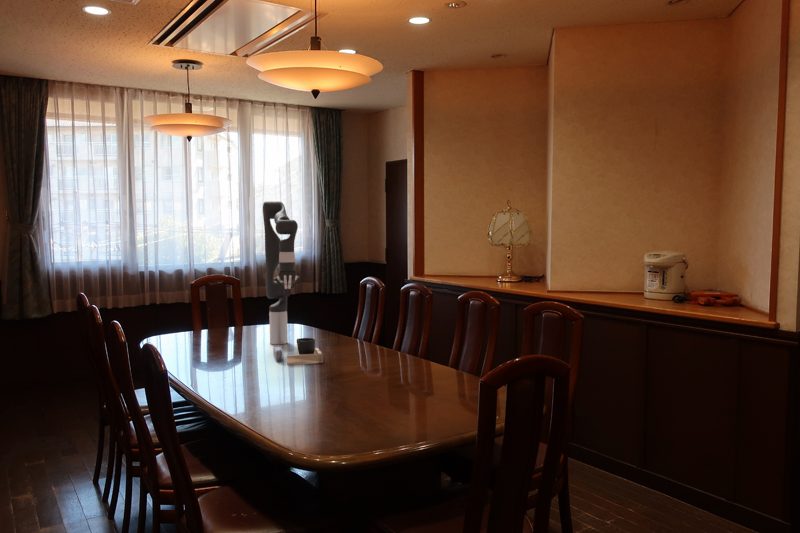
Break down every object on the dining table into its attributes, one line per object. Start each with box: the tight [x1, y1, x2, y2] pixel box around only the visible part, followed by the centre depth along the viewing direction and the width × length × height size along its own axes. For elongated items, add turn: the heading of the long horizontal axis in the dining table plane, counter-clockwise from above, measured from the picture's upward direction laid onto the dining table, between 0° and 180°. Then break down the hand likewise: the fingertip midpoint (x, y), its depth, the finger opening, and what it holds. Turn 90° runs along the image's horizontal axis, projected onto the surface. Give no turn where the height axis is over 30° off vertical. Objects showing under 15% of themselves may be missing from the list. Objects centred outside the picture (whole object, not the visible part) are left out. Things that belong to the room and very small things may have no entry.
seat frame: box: [286, 347, 324, 366], centre depth 277 cm, size 15×16×4 cm
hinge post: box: [276, 349, 283, 363], centre depth 274 cm, size 2×2×5 cm
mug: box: [296, 337, 316, 355], centre depth 280 cm, size 8×12×10 cm
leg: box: [273, 344, 282, 361], centre depth 282 cm, size 14×3×4 cm, turn 15°
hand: (287, 296), depth 291 cm, fingers closed
